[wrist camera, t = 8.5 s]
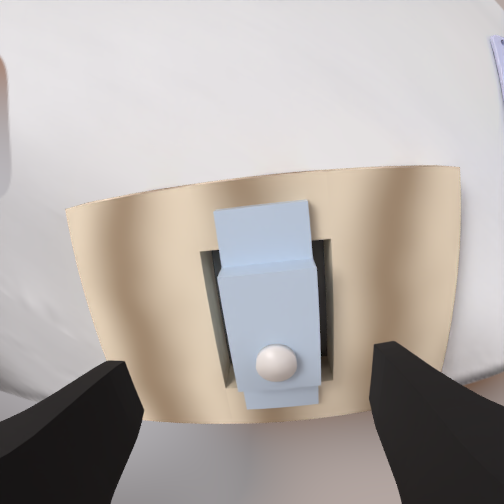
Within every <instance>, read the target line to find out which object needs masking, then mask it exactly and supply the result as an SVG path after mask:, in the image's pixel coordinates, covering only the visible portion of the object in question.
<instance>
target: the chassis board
mask: <svg viewBox="0 0 504 504" xmlns="http://www.w3.org/2000/svg"><path fill="white" fill-rule="evenodd" d="M305 199H306V200H307V201H308V208H309V219H310V230H311V241H312V240H322V239H323V242H324V260H325V282H326V314H327V356H321V385H319V386H318V401H319V404H312V405H303V406H293V407H281V408H267V409H248V410H247V407H246V402H245V397H244V392H238V388H237V383H236V378H235V373H234V368H233V364H230V358H229V353H228V347H227V342H226V336H225V331H224V325H223V319H222V314H221V308H220V302H219V296H218V290H217V284H216V277H215V271H214V265H213V259H212V252H211V250H219V247H218V240H217V234H216V227H215V220H214V214H213V211H215V210H216V209H224V208H232V207H240V206H249V205H257V204H266V203H276V202H285V201H295V200H305ZM65 210H66V216H67V221H68V227H69V232H70V236H71V241H72V246H73V250H74V254H75V259H76V263H77V267H78V271H79V275H80V279H81V282H82V286H83V290H84V293H85V297H86V300H87V303H88V307H89V310H90V313H91V317H92V320H93V323H94V326H95V329H96V332H97V335H98V338H99V341H100V343H101V346H102V349H103V352H104V355H105V357H106V360H107V361H108V360H114V361H125V363H126V365H127V368H128V371H129V373H130V376H131V378H132V381H133V384H134V386H135V389H136V391H137V394H138V396H139V398H140V401H141V403H142V405H143V408H144V414H143V418H142V420H147V421H159V422H174V423H198V424H245V423H269V422H284V421H296V420H307V419H316V418H325V417H332V416H340V415H347V414H353V413H359V412H365V411H371V406H370V401H369V392H370V383H371V373H372V361H373V348H374V344H378V343H384V342H389V341H395V342H397V343H399V344H400V345H402V346H403V347H405V348H406V349H408V350H409V351H410V352H412V353H413V354H415V355H416V356H418V357H419V358H420V359H422V360H423V361H425V362H426V363H428V364H429V365H431V366H432V367H434V368H435V369H437V370H438V371H440V372H441V370H442V366H443V362H444V357H445V353H446V348H447V343H448V338H449V332H450V326H451V320H452V314H453V307H454V300H455V292H456V284H457V274H458V263H459V248H460V226H461V185H460V167H452V166H438V165H423V166H384V167H362V168H344V169H329V170H315V171H303V172H292V173H281V174H271V175H261V176H252V177H243V178H235V179H227V180H219V181H212V182H204V183H197V184H190V185H184V186H177V187H171V188H164V189H158V190H152V191H146V192H141V193H135V194H129V195H124V196H119V197H113V198H108V199H103V200H98V201H93V202H88V203H85V204H81V205H78V206H74V207H71V208H67V209H65Z"/></svg>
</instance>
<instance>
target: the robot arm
mask: <svg viewBox="0 0 504 504" xmlns="http://www.w3.org/2000/svg"><path fill="white" fill-rule="evenodd" d="M490 40H491V44H492V48H493V52H494V56H495V60H496V64H497V68H498V73H499V78H500V83H501V88H502V94H503V99H504V37H501V36H498V35H493V36H491V38H490ZM501 43H502V44H503V45H502V44H501ZM369 401H370V406H371V410H372V414H373V418H374V423H375V426H376V430H377V432H378V435H379V437H380V440H381V443H382V446H383V448H384V451H385V454H386V456H387V459H388V462H389V465H390V467H391V470H392V473H393V476H394V478H395V481H396V484H397V487H398V490H399V494H400V497H401V502H402V504H504V406H502V405H499V404H497V403H495V402H493V401H490V400H488V399H486V398H484V397H482V396H480V395H478V394H476V393H475V392H473V391H471V390H469V389H467V388H466V387H464V386H462V385H460V384H459V383H457V382H455V381H454V380H452V379H451V378H449V377H447V376H446V375H444V374H443V373H441V372H440V371H438V370H437V369H435V368H434V367H432V366H431V365H429V364H428V363H426V362H425V361H423V360H422V359H420V358H419V357H418V356H416V355H415V354H413V353H412V352H410V351H409V350H408V349H406V348H405V347H403V346H402V345H400V344H399V343H397V342H395V341H389V342H384V343H378V344H374V348H373V361H372V373H371V383H370V392H369ZM143 414H144V408H143V405H142V403H141V401H140V398H139V396H138V394H137V391H136V389H135V386H134V384H133V381H132V378H131V376H130V373H129V371H128V368H127V365H126V363H125V361H114V360H108V361H106V362H104V363H102V364H100V365H98V366H97V367H95V368H93V369H92V370H90V371H89V372H87V373H85V374H84V375H82V376H81V377H79V378H78V379H76V380H75V381H73V382H71V383H70V384H68V385H67V386H65V387H64V388H62V389H60V390H59V391H57V392H56V393H54V394H52V395H51V396H49V397H47V398H46V399H44V400H42V401H41V402H39V403H37V404H35V405H34V406H32V407H30V408H28V409H27V410H25V411H23V412H21V413H19V414H17V415H14V416H12V417H10V418H8V419H6V420H3V421H1V422H0V504H111V500H112V497H113V494H114V492H115V489H116V487H117V484H118V482H119V479H120V477H121V475H122V472H123V470H124V467H125V465H126V463H127V461H128V459H129V456H130V454H131V451H132V449H133V447H134V444H135V442H136V439H137V437H138V433H139V430H140V426H141V423H142V418H143Z"/></svg>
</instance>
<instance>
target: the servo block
mask: <svg viewBox="0 0 504 504" xmlns="http://www.w3.org/2000/svg"><path fill="white" fill-rule="evenodd" d="M213 214H214V220H215V227H216V234H217V240H218V247H219V253H220V260H221V266H222V268H221V270H220V273H219V275H218V277H217V280H218V286H219V292H220V298H221V303H222V309H223V315H224V320H225V326H226V331H227V336H228V342H229V347H230V352H231V358H232V363H233V368H234V373H235V378H236V383H237V388H238V392H244V397H245V402H246V407H247V410H248V409H267V408H281V407H293V406H303V405H312V404H319V401H318V386H319V385H321V351H320V321H319V299H318V280H317V267H316V265H315V262H314V260H313V255H312V242H311V230H310V219H309V208H308V201H307V200H306V199H305V200H295V201H285V202H276V203H266V204H257V205H249V206H240V207H232V208H224V209H216V210H215V211H213Z"/></svg>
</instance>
